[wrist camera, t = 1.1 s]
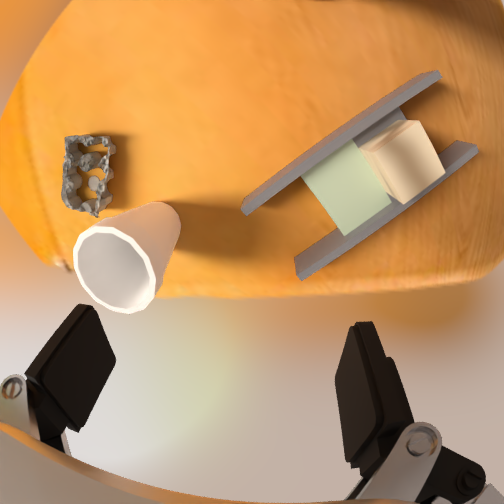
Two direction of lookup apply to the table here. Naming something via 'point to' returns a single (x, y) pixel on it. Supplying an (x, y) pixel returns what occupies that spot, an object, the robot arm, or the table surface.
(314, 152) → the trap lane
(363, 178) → the pad
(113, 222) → the foam cup
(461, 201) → the table surface
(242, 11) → the table surface
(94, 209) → the egg carton
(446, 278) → the table surface
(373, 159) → the maple block
